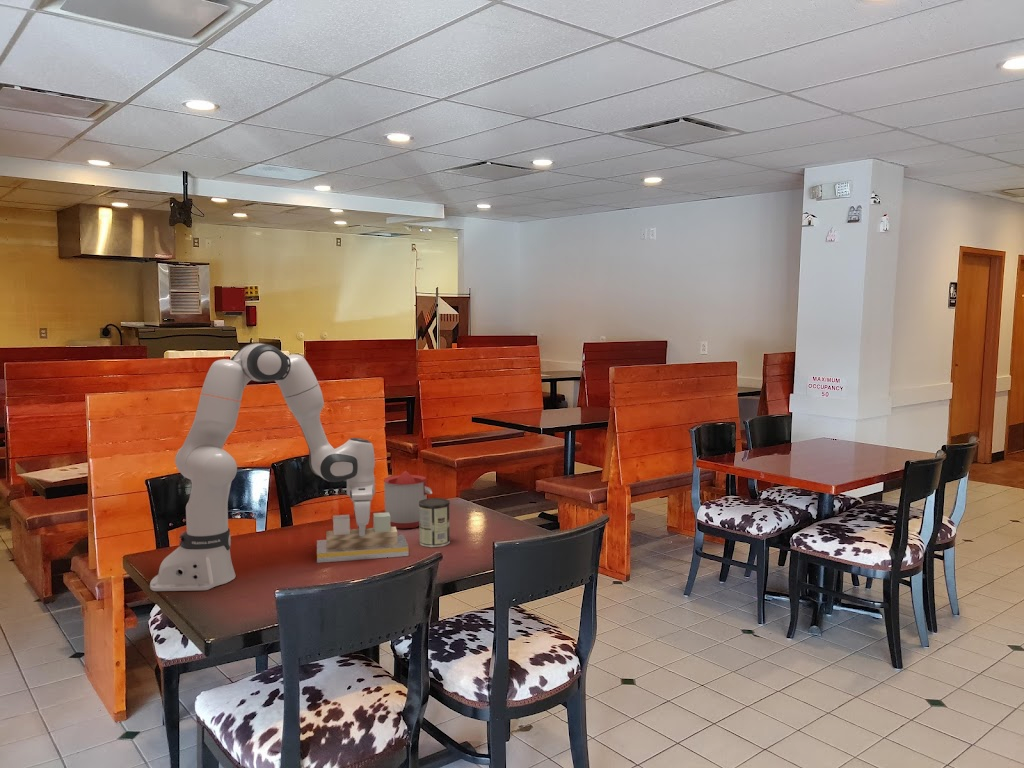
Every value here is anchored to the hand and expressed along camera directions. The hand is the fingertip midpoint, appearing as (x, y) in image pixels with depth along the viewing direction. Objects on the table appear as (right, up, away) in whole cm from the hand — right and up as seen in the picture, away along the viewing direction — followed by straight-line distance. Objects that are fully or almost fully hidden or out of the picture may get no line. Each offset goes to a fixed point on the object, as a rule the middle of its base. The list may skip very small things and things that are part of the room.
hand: (361, 531), depth 244 cm
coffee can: (+22, -6, +12) cm, 26 cm away
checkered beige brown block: (0, -4, +1) cm, 4 cm away
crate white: (-6, 0, -1) cm, 6 cm away
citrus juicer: (+11, -4, +33) cm, 35 cm away
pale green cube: (+6, 0, +2) cm, 7 cm away
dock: (0, -7, +1) cm, 7 cm away
